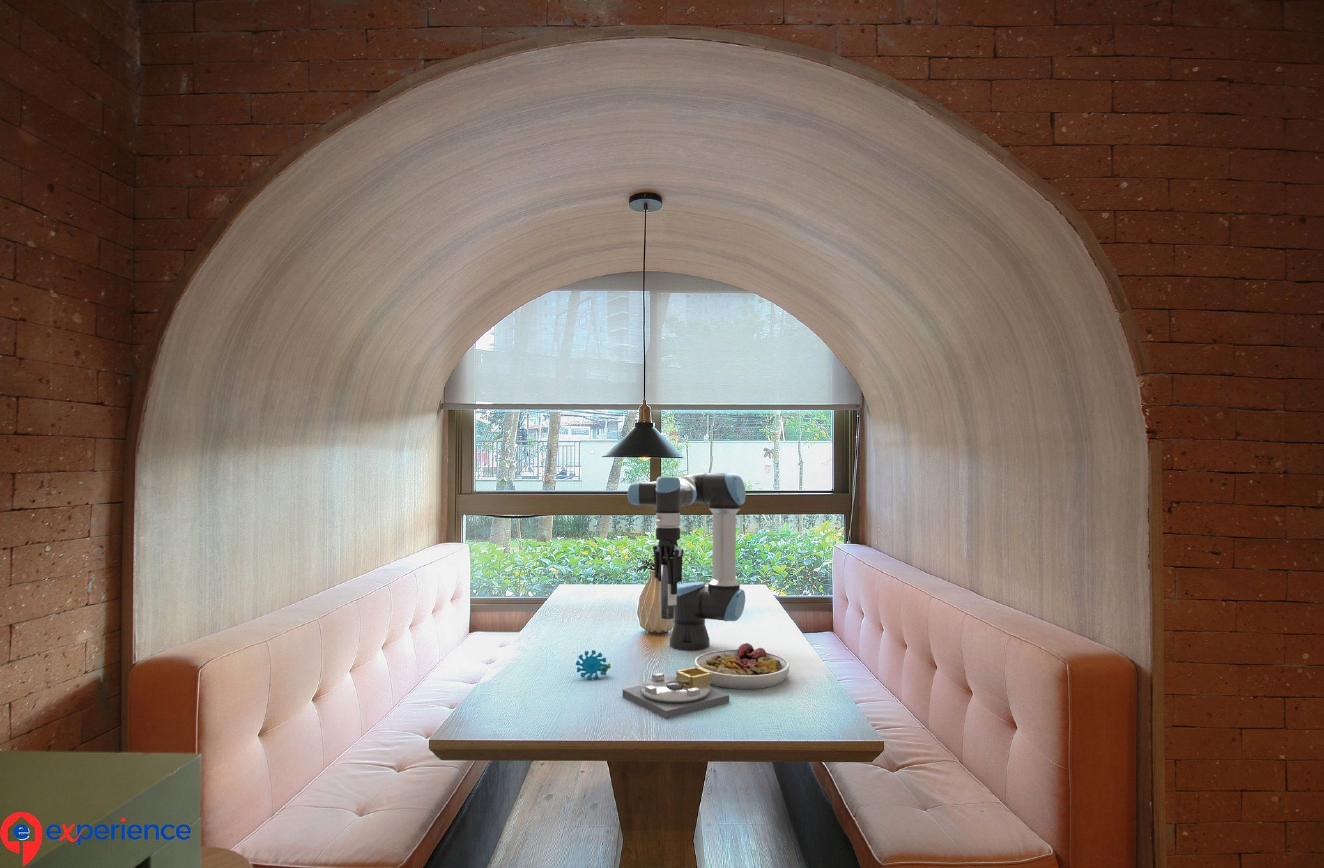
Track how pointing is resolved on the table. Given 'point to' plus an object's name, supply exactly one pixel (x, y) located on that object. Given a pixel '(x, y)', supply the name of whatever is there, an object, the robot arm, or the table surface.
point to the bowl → (744, 667)
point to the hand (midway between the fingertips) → (667, 603)
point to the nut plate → (675, 708)
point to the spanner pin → (665, 594)
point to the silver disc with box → (678, 686)
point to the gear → (592, 665)
